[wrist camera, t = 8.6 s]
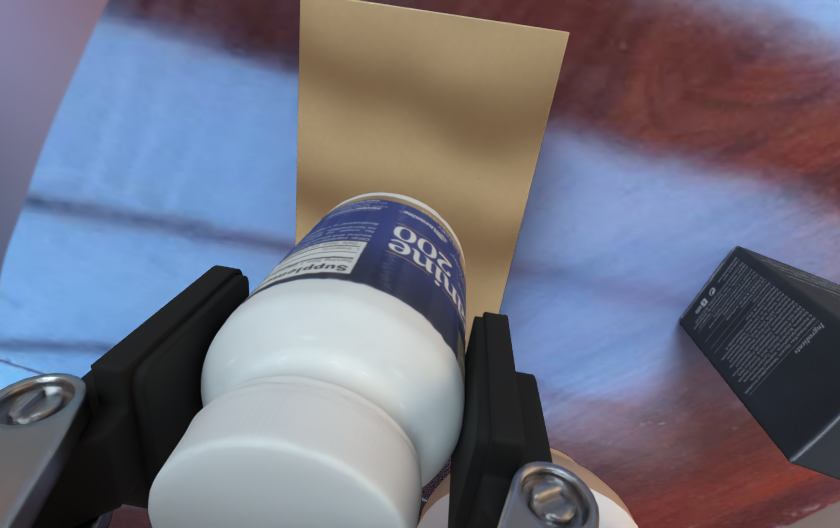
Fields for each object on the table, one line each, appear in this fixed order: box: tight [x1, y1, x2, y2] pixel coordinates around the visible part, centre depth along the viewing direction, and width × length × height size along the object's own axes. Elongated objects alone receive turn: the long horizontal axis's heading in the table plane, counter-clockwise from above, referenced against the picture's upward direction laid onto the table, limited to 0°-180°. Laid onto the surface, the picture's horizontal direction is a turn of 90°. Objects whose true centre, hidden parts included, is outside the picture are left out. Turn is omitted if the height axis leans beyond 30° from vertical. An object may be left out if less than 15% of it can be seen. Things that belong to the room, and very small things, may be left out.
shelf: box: [295, 0, 569, 355], centre depth 22 cm, size 16×10×6 cm, turn 172°
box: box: [680, 246, 840, 480], centre depth 21 cm, size 8×6×11 cm
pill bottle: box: [148, 192, 466, 528], centre depth 11 cm, size 5×5×10 cm
